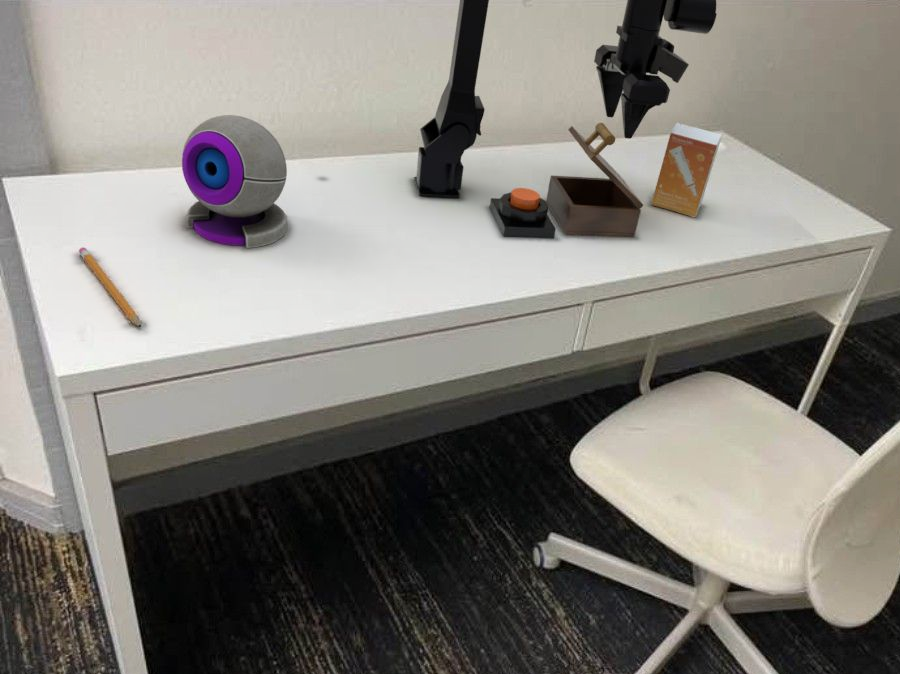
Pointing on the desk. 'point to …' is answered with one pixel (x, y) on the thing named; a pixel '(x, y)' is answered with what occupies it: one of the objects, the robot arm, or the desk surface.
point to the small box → (686, 169)
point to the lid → (600, 161)
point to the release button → (524, 198)
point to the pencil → (110, 286)
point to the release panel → (521, 219)
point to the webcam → (235, 182)
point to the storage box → (591, 207)
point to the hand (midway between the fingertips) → (618, 127)
